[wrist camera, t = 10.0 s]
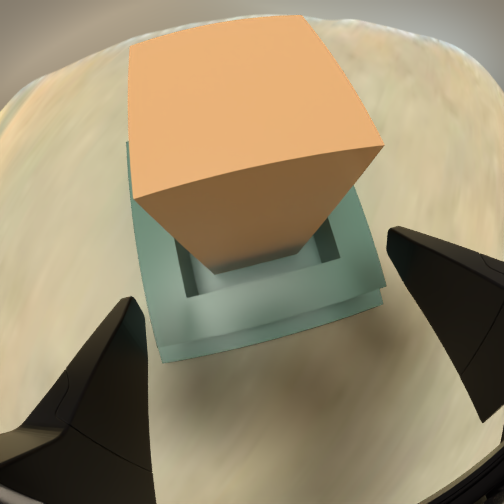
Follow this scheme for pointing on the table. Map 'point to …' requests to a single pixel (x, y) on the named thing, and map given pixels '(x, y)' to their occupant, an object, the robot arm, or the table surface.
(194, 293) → the socket housing
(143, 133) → the plug
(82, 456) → the robot arm
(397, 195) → the table surface
